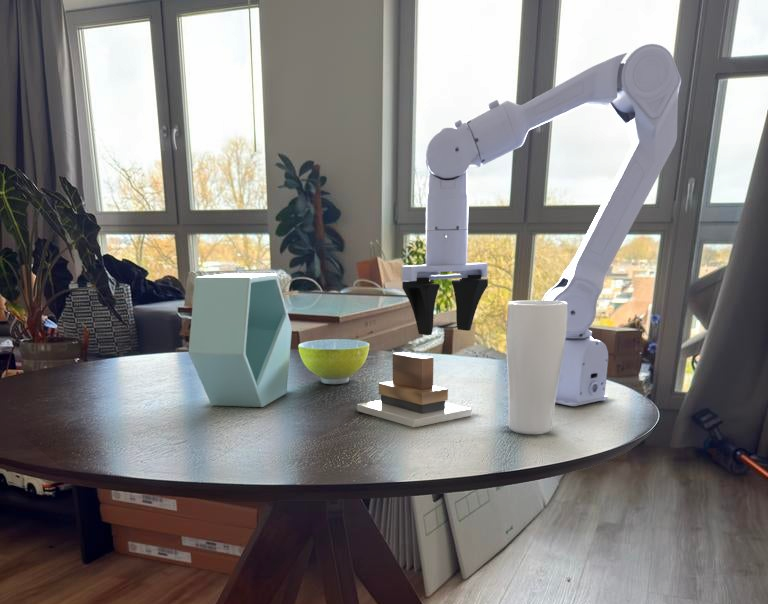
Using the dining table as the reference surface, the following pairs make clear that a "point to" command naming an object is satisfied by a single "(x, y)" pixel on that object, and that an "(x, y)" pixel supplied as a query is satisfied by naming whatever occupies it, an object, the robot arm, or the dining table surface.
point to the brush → (413, 385)
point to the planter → (240, 338)
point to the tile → (413, 413)
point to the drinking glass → (534, 362)
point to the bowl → (334, 358)
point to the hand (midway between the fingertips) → (444, 332)
